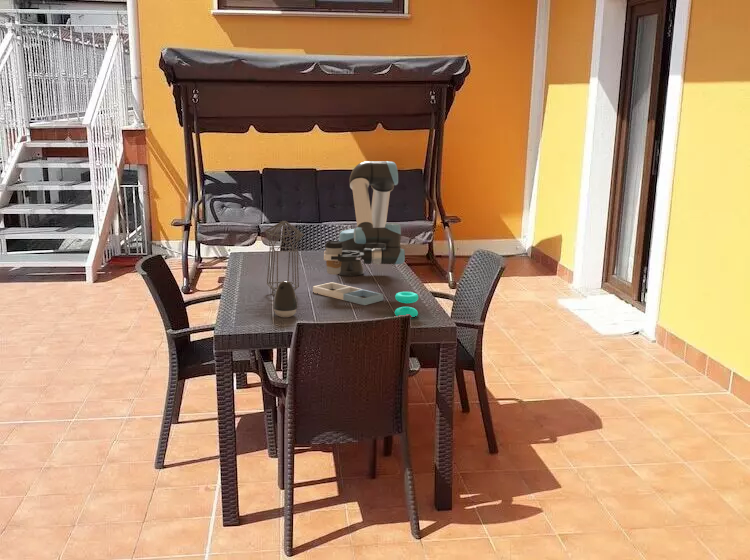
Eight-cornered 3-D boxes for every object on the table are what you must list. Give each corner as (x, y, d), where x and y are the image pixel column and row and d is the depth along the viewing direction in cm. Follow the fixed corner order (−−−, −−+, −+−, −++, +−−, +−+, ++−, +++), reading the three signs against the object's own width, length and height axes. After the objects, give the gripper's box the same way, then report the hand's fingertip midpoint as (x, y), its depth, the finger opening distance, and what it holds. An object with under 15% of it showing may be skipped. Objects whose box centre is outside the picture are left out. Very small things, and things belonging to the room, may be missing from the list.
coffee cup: (329, 275, 359) (329, 244, 356) (322, 272, 366) (322, 241, 363) (345, 274, 363) (345, 243, 360) (338, 270, 370) (338, 240, 367)
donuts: (412, 290, 334) (422, 295, 325) (411, 312, 337) (421, 318, 328) (391, 291, 330) (401, 297, 321) (390, 314, 333) (400, 320, 324)
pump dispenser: (268, 317, 323) (268, 282, 319) (280, 311, 332) (280, 277, 329) (290, 320, 319) (290, 284, 316) (301, 314, 329) (301, 279, 325)
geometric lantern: (262, 292, 365) (263, 219, 358) (294, 290, 371) (295, 218, 364) (271, 299, 351) (272, 223, 344) (304, 297, 357) (305, 223, 350)
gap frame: (331, 288, 377) (331, 282, 376) (383, 300, 356) (383, 294, 355) (312, 292, 367) (312, 286, 366) (364, 305, 346) (364, 298, 345)
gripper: (373, 268, 355) (323, 268, 353) (370, 259, 375) (323, 258, 373) (373, 252, 353) (323, 251, 351) (370, 244, 373) (323, 243, 372)
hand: (323, 255), depth 362 cm, fingers closed on coffee cup, 8 cm apart
